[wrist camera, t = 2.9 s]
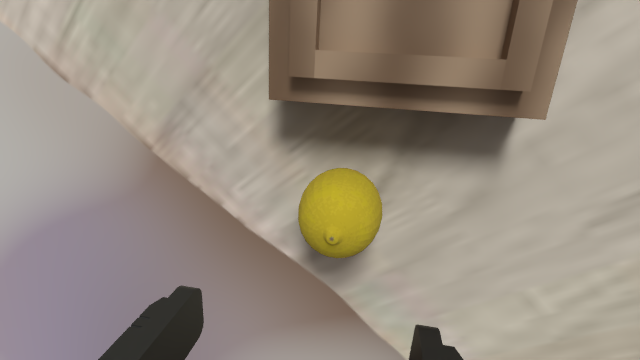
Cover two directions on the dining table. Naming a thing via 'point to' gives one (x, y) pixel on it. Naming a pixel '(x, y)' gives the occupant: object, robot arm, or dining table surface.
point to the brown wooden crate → (420, 54)
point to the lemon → (340, 213)
